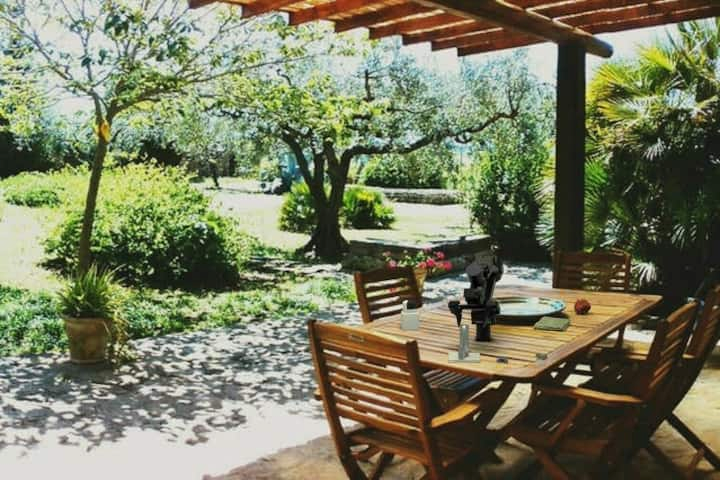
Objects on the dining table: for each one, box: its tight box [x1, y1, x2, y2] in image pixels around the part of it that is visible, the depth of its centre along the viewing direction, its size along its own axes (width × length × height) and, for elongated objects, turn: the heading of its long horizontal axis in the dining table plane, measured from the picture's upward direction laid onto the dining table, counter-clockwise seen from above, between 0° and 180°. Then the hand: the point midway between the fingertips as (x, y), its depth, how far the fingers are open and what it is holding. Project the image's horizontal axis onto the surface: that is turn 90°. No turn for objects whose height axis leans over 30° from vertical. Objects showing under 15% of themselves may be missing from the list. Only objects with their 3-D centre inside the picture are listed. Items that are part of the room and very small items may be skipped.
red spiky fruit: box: [573, 298, 592, 317], centre depth 331 cm, size 7×7×10 cm
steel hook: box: [457, 324, 470, 360], centre depth 254 cm, size 7×3×11 cm, turn 158°
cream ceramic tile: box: [448, 351, 482, 363], centre depth 256 cm, size 11×11×1 cm
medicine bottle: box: [400, 299, 420, 331], centre depth 308 cm, size 7×7×12 cm
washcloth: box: [532, 316, 571, 332], centre depth 306 cm, size 13×18×3 cm
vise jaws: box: [496, 352, 548, 364], centre depth 253 cm, size 5×19×1 cm, turn 104°
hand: (470, 326), depth 264 cm, fingers open, 9 cm apart
